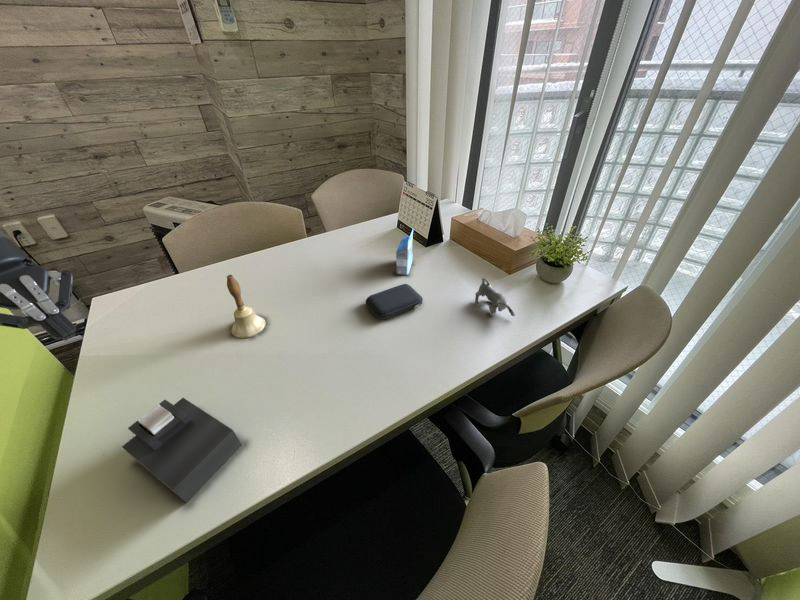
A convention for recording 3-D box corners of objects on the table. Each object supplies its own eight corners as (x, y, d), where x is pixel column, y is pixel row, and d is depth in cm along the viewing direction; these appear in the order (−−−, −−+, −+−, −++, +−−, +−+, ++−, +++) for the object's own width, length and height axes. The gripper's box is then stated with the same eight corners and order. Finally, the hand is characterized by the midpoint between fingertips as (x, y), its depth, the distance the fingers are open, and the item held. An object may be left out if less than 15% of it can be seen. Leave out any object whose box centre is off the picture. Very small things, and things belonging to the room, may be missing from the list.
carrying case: (381, 326, 85) (427, 307, 91) (380, 317, 83) (428, 299, 89) (363, 304, 92) (407, 288, 98) (362, 295, 90) (407, 279, 96)
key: (142, 426, 56) (137, 420, 55) (162, 409, 58) (158, 404, 57) (154, 435, 54) (149, 430, 53) (175, 418, 57) (170, 412, 56)
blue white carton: (401, 259, 111) (401, 226, 103) (412, 261, 110) (413, 227, 102) (396, 274, 104) (395, 239, 96) (408, 275, 103) (408, 240, 95)
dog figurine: (470, 300, 93) (474, 279, 89) (486, 294, 95) (490, 273, 91) (498, 325, 85) (503, 303, 80) (515, 318, 87) (521, 297, 82)
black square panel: (134, 459, 58) (113, 439, 54) (191, 411, 65) (176, 390, 61) (186, 503, 52) (167, 484, 48) (242, 445, 60) (229, 424, 56)
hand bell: (242, 315, 88) (222, 265, 78) (270, 318, 87) (254, 268, 78) (225, 336, 82) (201, 285, 72) (256, 339, 81) (235, 288, 71)
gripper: (-104, 260, 41) (10, 360, 44) (28, 220, 50) (115, 305, 53) (-79, 282, 46) (21, 370, 49) (36, 243, 55) (115, 319, 58)
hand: (70, 336), depth 51 cm, fingers closed
